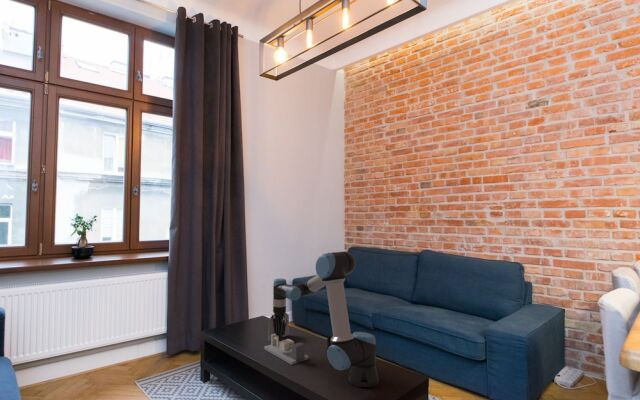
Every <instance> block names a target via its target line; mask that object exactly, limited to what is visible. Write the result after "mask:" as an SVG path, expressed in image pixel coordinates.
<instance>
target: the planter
mask: <svg viewBox="0 0 640 400" xmlns="http://www.w3.org/2000/svg"><path fill="white" fill-rule="evenodd" d="M273 315H274V314H271V315H270V317H269V319H268V334H267V339H268V342H271V335H272V334H276V333H274V328H273V319H272V316H273ZM284 315H285V319H286V320H287V323H286V329H285V334H284V335H282V338H285V337H288V336H289V334H290V331H289V329H290V328H289V327H290V326H289V325H290V324H289V323H290V321H289V320H290V314H288V313H287V311H286V312H285V313H284Z"/></svg>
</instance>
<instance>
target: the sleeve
mask: <svg viewBox="0 0 640 400" xmlns="http://www.w3.org/2000/svg"><path fill="white" fill-rule="evenodd" d="M282 340H283V341H280V344H279V349H280V350H282V351H284V352H285V351H289V350H292V348H290V347H289V344H291V345H293V344H295V340H292V339H290V338H286V339H282Z"/></svg>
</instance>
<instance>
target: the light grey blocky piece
mask: <svg viewBox="0 0 640 400" xmlns="http://www.w3.org/2000/svg"><path fill="white" fill-rule="evenodd" d="M283 340H284V339H282V341H283ZM289 347H290V348H292V350H289V351H285V352H284V351H282V350H280V349H279V347H276V334H272V335H271V341H270V344H268V345H264V347H263V350H265V351H267V352H268V353H270V354H271V355H274V356H275V357H278V358H279V359H281V360H283V361H284V362H287V363H288V364H289V365H291V366H292V365H295V364H296V365H297V364H298V363H301V362H304V361H306V360H309V359H310V357H309V355H307V354H305V353H306V349H305V347H306V344H305V343H303V342H301V341H300V342H297V343H294V344H293V345H291V344H289Z"/></svg>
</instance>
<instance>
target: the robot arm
mask: <svg viewBox="0 0 640 400" xmlns="http://www.w3.org/2000/svg"><path fill="white" fill-rule="evenodd" d="M356 264H357V262H356V258H355V257H354V255H353V254H352V253H350V252H349V251H336V252H334V251H333V252H327V253H322V254H321V255H319V257H318V258H317V259H316V262H315V272H316V274H315V275H314V276H313V277H312V278H310V279H308V280H307V281H305V282H301V283H300V282H299V283H295V284H288V283H287V279H285V278H275V279H274V280H273V287H272V288H273V290H272V293H273V294H272V295H273V297H272V312H273V314H272V315H273V316H272V315H271V316H272V319H273V328H274V333H276V347H279V344H280V341H282V340H283V337H282V335H284V334H285V329H286V323H287V320H286V319H285V315H284V313H285V312H286V313H287V299H288V300H291V301H298V300H299V299H300V298H301V297H307V296H312V295H315V294H316V293H318V291H319V290H320V289H322V288H324V287H326V294H327V301H328V308H329V317H330V323H331V330H332V336H331V337H332V338H331V339H330V340H331V346H330V347H329V348H328V350H327V349H326V356H327V359H328V362H329V363H330V365H331V366H332V367H333V368H334V369H335V370H337V371H344V370H348V369H349V373H348V379H347V380H348V383H350V384H351V385H352V386H354V387H357V388H361V387H371V388H374V387H376V386H378V385H379V383H380V376H379V373H378V370H377V367H376V366H377V365H376V357H377V355H376V350H377V346H376V345H377V341H376V337H375V335H373V334H372V333H370V332H369V333H368V332H364V331H354V332H353V333H351V325H350V320H349V312H348V306H347V298H346V294H345V293H346V292H345V286H344V282H345V281H346V277H347V275H349V274H351V273H353V272H354V270H355V269H356ZM377 384H378V385H377ZM375 385H376V386H375ZM373 386H374V387H373Z"/></svg>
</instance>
